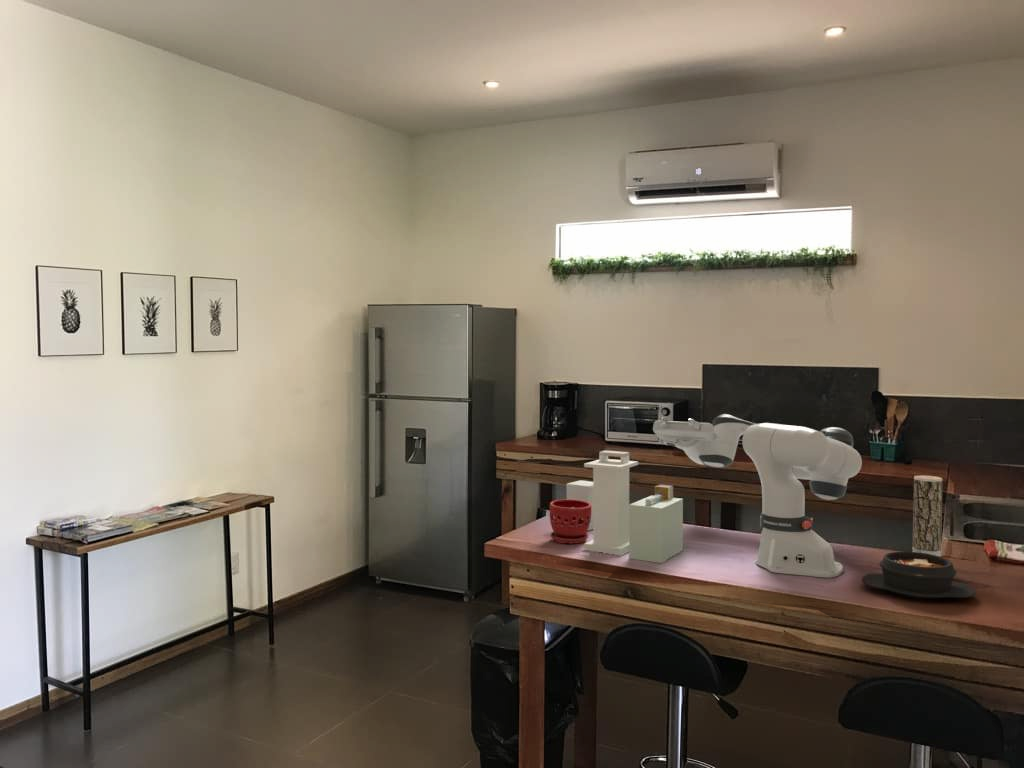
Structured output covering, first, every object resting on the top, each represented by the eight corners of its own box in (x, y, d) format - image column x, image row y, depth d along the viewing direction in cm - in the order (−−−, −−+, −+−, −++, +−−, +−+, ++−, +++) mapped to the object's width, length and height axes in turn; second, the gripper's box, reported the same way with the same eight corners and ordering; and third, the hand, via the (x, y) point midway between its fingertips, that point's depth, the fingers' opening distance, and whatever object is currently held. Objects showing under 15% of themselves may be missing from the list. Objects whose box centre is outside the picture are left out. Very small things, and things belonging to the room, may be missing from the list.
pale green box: (682, 550, 236) (682, 498, 235) (661, 563, 222) (662, 508, 222) (651, 546, 241) (651, 495, 240) (629, 558, 228) (629, 504, 227)
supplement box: (603, 526, 268) (603, 482, 267) (588, 531, 261) (588, 486, 260) (581, 522, 273) (580, 479, 272) (565, 527, 266) (565, 483, 266)
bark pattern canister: (925, 573, 211) (927, 480, 210) (906, 566, 217) (908, 476, 216) (946, 571, 213) (948, 479, 211) (926, 564, 219) (928, 475, 218)
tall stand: (637, 546, 240) (638, 451, 239) (621, 555, 230) (621, 456, 229) (602, 541, 247) (602, 449, 245) (584, 550, 237) (584, 453, 235)
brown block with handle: (673, 497, 236) (673, 485, 236) (655, 506, 225) (655, 493, 225) (660, 496, 239) (660, 484, 239) (641, 504, 227) (641, 492, 227)
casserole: (860, 597, 192) (861, 563, 191) (861, 576, 209) (862, 545, 208) (980, 611, 182) (981, 575, 181) (970, 588, 198) (971, 555, 198)
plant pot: (553, 546, 241) (553, 507, 240) (546, 536, 254) (546, 499, 253) (595, 545, 243) (595, 506, 242) (586, 534, 256) (586, 498, 255)
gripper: (717, 447, 263) (705, 430, 253) (659, 443, 274) (646, 427, 264) (721, 430, 265) (709, 412, 255) (663, 427, 276) (649, 410, 266)
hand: (676, 420), depth 259 cm, fingers open, 8 cm apart
